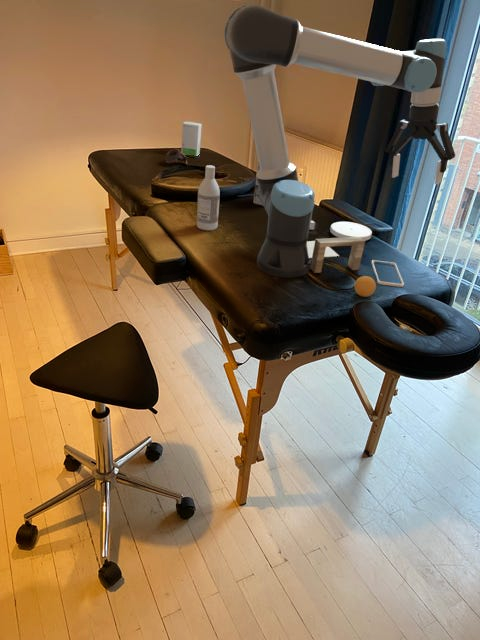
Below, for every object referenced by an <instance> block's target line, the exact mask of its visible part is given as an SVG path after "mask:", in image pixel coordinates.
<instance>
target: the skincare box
mask: <svg viewBox="0 0 480 640" xmlns="http://www.w3.org/2000/svg"><path fill="white" fill-rule="evenodd" d="M202 126H203V125H202V123H198V122H194V121H184V122H182V128H181V129H182V133H181V149H180V151H181V152H183V153H184V154H185V155H194V156H198V155H199V154H200V152H201V140H202V138H201V137H202V128H203V127H202ZM199 156H200V155H199Z"/></svg>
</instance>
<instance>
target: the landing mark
mask: <svg viewBox="0 0 480 640" xmlns="http://www.w3.org/2000/svg"><path fill="white" fill-rule="evenodd" d="M314 245H315V240H311V241H310V240H309V241H308V240H307V249H308V255H309V259H312V256H313V250H314ZM337 256H338V257H340V255H339V254H338V253H337V252H336V251H335V250H334V249H332V247H326V249H325V254H324V258H334V257H335V258H336V257H337ZM338 257H337V258H338Z"/></svg>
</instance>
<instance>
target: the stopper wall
mask: <svg viewBox="0 0 480 640" xmlns="http://www.w3.org/2000/svg"><path fill="white" fill-rule="evenodd" d="M315 227H316V222H315V221H314V220H311V223H310V228H309V231H310V230H311V231H312V230H315Z"/></svg>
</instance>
